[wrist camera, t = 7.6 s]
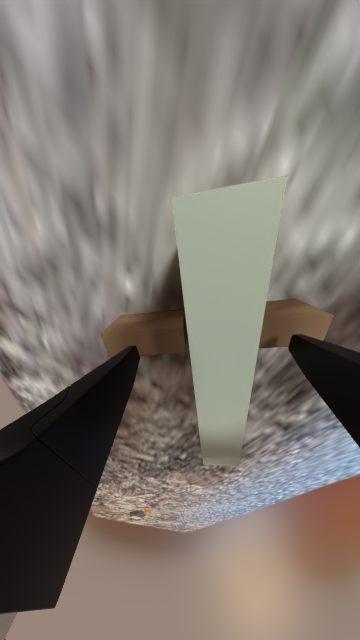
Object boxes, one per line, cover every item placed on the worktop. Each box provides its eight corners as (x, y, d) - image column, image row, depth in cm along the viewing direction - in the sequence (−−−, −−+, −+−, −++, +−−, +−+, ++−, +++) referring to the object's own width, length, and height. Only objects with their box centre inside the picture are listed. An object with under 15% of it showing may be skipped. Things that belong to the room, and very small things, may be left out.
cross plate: (183, 236, 9) (171, 196, 2) (214, 232, 9) (286, 175, 2) (196, 370, 14) (203, 464, 8) (216, 369, 14) (238, 465, 8)
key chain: (139, 512, 47) (137, 520, 45) (129, 510, 46) (128, 517, 44) (161, 507, 42) (160, 515, 41) (151, 504, 41) (150, 512, 40)
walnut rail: (295, 298, 10) (334, 315, 7) (289, 322, 11) (321, 344, 8) (120, 315, 12) (100, 334, 9) (127, 334, 12) (110, 357, 10)
